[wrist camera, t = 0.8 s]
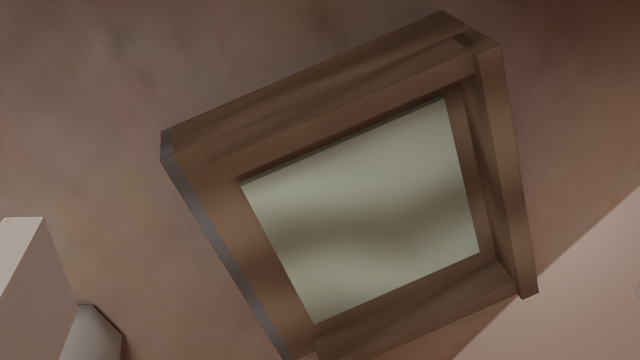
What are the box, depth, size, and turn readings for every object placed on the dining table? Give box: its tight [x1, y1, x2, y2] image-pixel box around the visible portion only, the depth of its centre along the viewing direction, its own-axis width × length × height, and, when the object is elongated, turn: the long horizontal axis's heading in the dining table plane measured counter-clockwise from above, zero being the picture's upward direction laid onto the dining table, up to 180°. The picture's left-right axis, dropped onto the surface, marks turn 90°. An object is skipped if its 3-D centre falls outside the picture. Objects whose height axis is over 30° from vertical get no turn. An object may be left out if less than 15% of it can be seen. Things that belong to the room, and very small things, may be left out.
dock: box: [160, 11, 539, 360], centre depth 28 cm, size 15×15×6 cm
